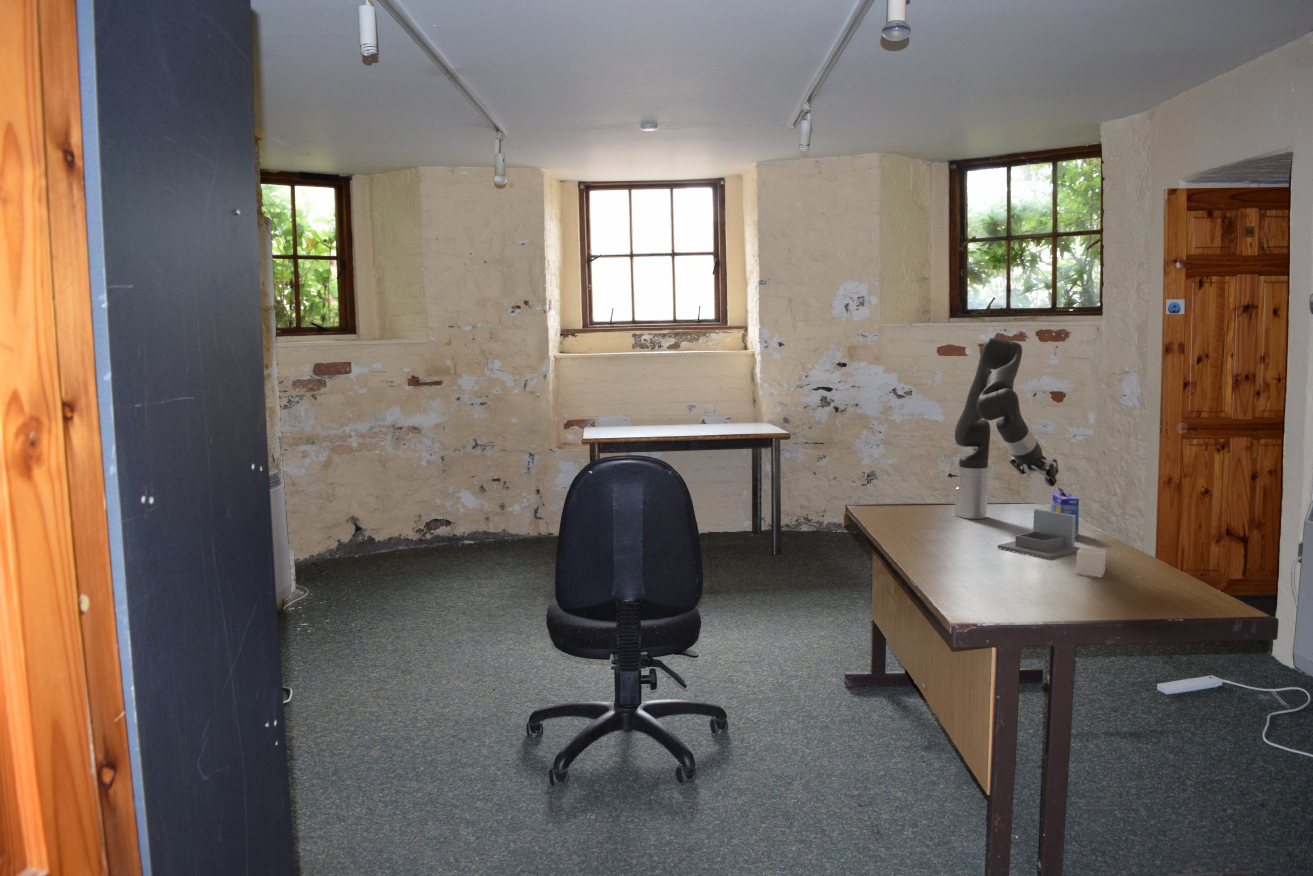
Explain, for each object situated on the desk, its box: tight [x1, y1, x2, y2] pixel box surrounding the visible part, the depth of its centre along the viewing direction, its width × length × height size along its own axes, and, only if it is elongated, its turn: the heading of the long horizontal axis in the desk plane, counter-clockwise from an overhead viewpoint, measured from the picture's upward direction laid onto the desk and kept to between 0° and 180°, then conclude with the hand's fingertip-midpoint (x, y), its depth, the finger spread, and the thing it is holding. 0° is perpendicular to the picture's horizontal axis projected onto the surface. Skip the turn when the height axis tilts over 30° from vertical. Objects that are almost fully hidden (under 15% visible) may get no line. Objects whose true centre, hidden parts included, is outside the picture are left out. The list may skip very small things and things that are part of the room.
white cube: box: [1075, 546, 1107, 578], centre depth 225 cm, size 6×6×6 cm
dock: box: [997, 508, 1081, 560], centre depth 249 cm, size 16×16×10 cm
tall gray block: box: [1028, 469, 1054, 506], centre depth 248 cm, size 4×4×10 cm
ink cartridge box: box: [1050, 487, 1080, 538], centre depth 268 cm, size 10×6×14 cm, turn 174°
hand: (1045, 482), depth 249 cm, fingers closed on tall gray block, 4 cm apart
